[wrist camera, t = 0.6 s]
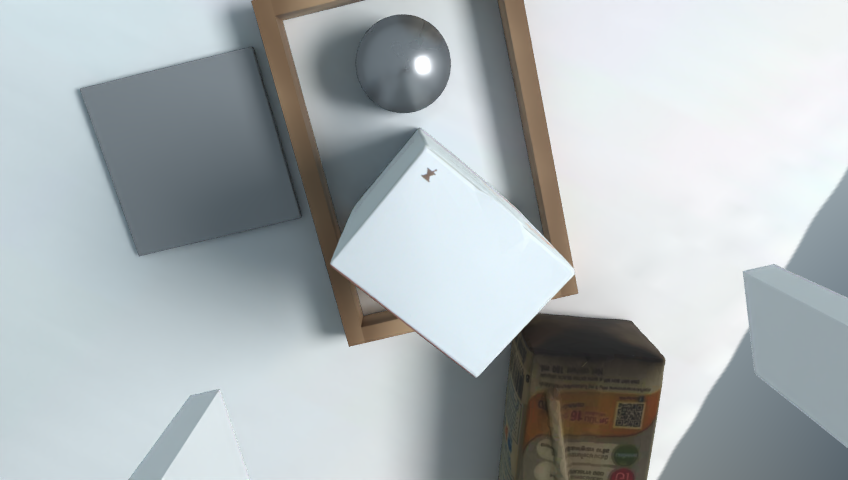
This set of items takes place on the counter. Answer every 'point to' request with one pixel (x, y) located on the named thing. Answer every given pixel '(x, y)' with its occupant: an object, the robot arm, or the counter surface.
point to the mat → (193, 151)
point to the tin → (403, 63)
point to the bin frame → (271, 8)
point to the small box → (448, 254)
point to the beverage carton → (580, 401)
